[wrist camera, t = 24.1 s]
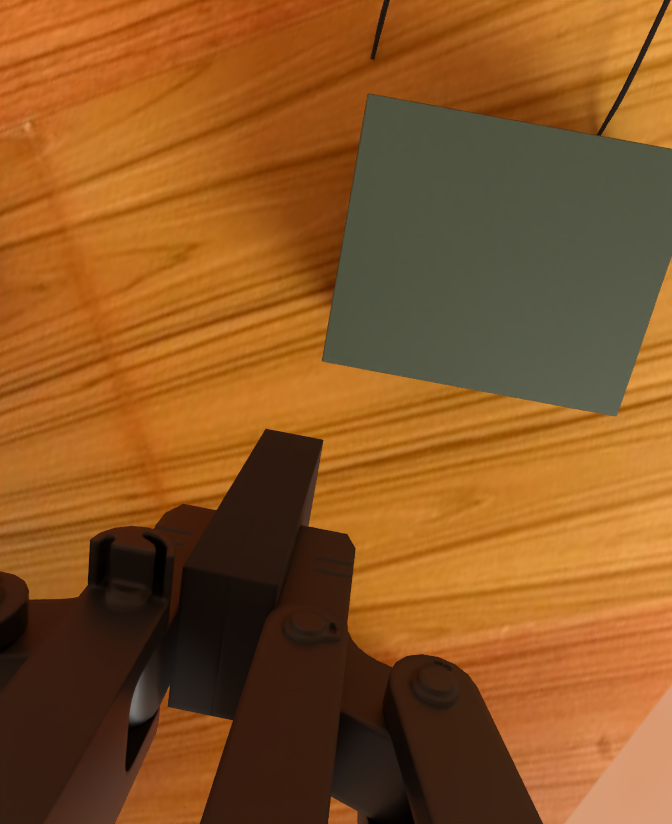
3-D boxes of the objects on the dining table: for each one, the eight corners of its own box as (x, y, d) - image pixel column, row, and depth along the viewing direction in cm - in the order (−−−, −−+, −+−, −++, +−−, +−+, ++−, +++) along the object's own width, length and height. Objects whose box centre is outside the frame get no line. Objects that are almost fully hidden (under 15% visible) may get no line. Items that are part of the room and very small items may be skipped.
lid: (323, 358, 33) (321, 361, 32) (368, 96, 29) (367, 93, 28) (611, 412, 32) (617, 416, 32) (698, 156, 28) (706, 155, 28)
